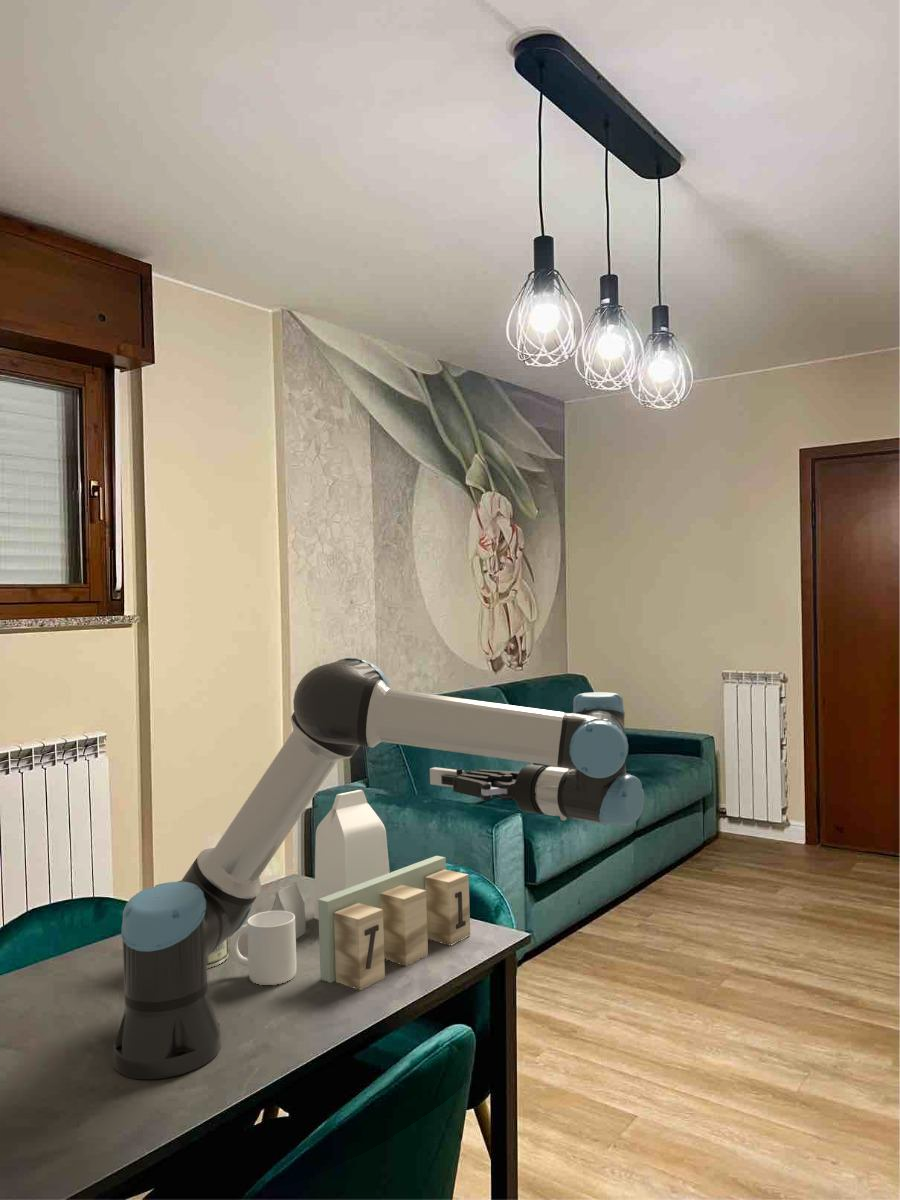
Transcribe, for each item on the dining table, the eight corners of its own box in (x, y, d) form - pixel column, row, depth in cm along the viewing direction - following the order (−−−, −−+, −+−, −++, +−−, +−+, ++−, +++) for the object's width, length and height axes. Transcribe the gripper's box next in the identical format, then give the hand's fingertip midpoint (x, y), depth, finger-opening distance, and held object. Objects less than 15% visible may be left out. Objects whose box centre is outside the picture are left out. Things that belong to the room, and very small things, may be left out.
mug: (221, 984, 157) (219, 924, 157) (242, 965, 165) (240, 908, 165) (285, 988, 155) (283, 928, 155) (303, 968, 163) (302, 911, 163)
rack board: (447, 927, 181) (445, 857, 181) (330, 982, 156) (327, 901, 156) (438, 925, 182) (436, 855, 182) (320, 979, 158) (318, 899, 158)
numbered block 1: (471, 936, 176) (469, 874, 176) (451, 946, 171) (450, 882, 171) (446, 929, 180) (444, 869, 180) (426, 939, 175) (425, 877, 175)
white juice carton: (305, 932, 181) (303, 882, 181) (287, 945, 174) (285, 893, 174) (289, 930, 182) (287, 881, 182) (271, 943, 176) (269, 891, 176)
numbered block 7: (386, 978, 157) (383, 909, 157) (361, 990, 153) (359, 919, 153) (360, 970, 161) (358, 902, 161) (335, 981, 157) (333, 912, 157)
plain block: (428, 955, 167) (426, 890, 167) (406, 966, 162) (404, 899, 162) (403, 948, 171) (402, 884, 171) (382, 958, 166) (380, 893, 166)
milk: (346, 931, 180) (342, 801, 180) (314, 918, 189) (310, 793, 189) (393, 916, 188) (389, 791, 188) (360, 903, 197) (356, 784, 197)
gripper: (524, 823, 137) (408, 804, 152) (569, 806, 147) (456, 790, 162) (522, 773, 137) (406, 759, 152) (568, 760, 147) (455, 748, 162)
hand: (432, 775), depth 157 cm, fingers closed
